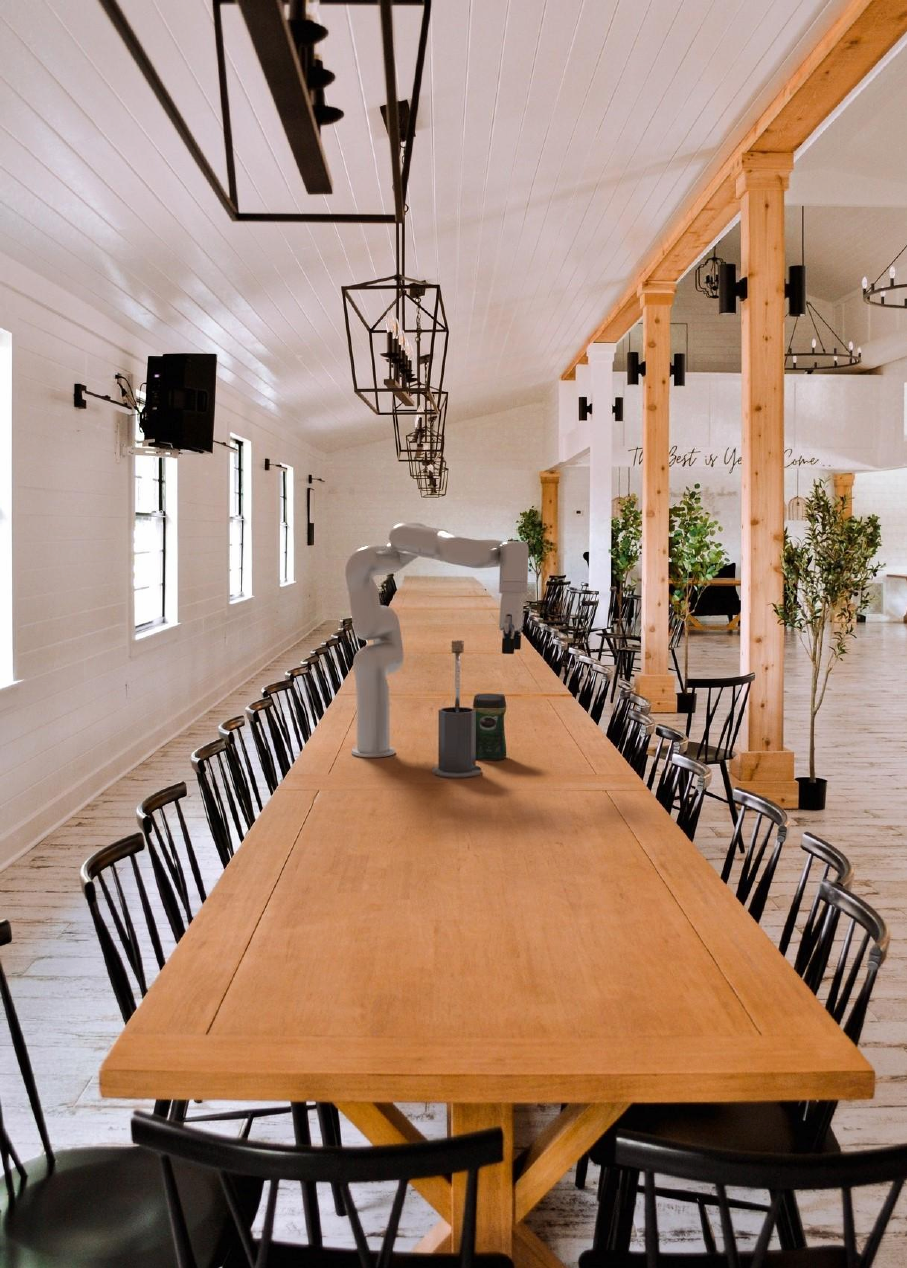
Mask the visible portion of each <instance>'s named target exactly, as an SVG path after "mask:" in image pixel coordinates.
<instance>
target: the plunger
mask: <svg viewBox="0 0 907 1268" xmlns="http://www.w3.org/2000/svg"><path fill="white" fill-rule="evenodd" d="M464 644H465V641H464V640H454V639H453V640H451V653H452V654H454V655H455V656H454V657H455V660H454V662H455V663H454V675H455V677H454V707H455V713H460V707H461V706H460V704H461V701H460V699H461V698H460V694H461V693H460V692H461V690H460V688H461V686H460V684H461V682H460V681H461V676H460V675H461V672H460V671H461V668H460V667H461V663H460V662H461V656H460V655H461V654H463V653H464V652H465V651H464V648H465V647H464Z"/></svg>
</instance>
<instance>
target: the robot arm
mask: <svg viewBox="0 0 907 1268" xmlns="http://www.w3.org/2000/svg"><path fill="white" fill-rule="evenodd" d="M388 541H389V543H388V544H384V545H383V544H382V545H380V544H379V545H377V544H375V545H374V544H373V545H367V546H363V547H361V548H358V549H357V550H355V551H354V552H353V553H352V554H351V555H350V556H349V558H348V560H347V562H346V565H345V581H346V586H347V591H348V596H349V607H350V614H351V621H352V628H353V632H354V634H355V635H356V638H358V639H360V640H362V641H372V644H369V645H365V646H363V647H361V648H360V649H359V650H357V652H356V653H355V654H354V657H353V661H352V662H353V663H352V664H353V665H352V667H353V673H354V678H355V691H356V692H355V693H356V697H355V699H356V746H355V747H353V748H352V749H351V754H352V755H353V756H355V757H358V758H359V757H360V758H384V757H389V756H393V755H395V754H396V749H395V747H393V746H390V741H391V739H390V737H391V736H390V735H391V733H390V731H391V728H390V727H391V724H390V723H391V722H390V721H391V720H390V719H391V718H390V717H391V716H390V711H391V710H390V709H391V708H390V707H391V706H390V705H391V704H390V703H391V702H390V701H391V700H390V687H389V686H390V685H389V683H388V680H387V675H391V674H394V673H397V671H399V670H400V669H401V668H402V666H403V663H404V656H405V655H404V648H403V640H402V639H403V638H402V633H401V624H400V619H399V617H398V615H397V614H396V612H395V610H394V609H392V607H389V606H387V605H382V604H381V601H380V600H381V599H380V594H379V589H378V585H377V584H376V582H375V580H374V577H375V576H383V575H392V574H395V573H398V572H399V571H401V570H402V569H404V568H405V567H407V566H408V565H409V564H410V563H412V562H413V561H414V560H416V559H417V558H419V557H420V558H426V559H431V560H436V561H438V562H444V563H448V564H451V565H454V566H455V565H456V566H460V567H461V566H462V567H464V568H465V567H466V568H472V569H487V568H489V569H491V568H499V579H498V581H499V582H498V583H499V584H498V585H499V586H498V593H499V594H501V599H500V606H499V622H498V624H499V625H498V629H499V630H500V631H502V637H501V638H502V639H501V653H502V654H504V655H514V654H515V650H517V651H520V650H521V649H522V648H521V647H522V629H521V628H523V622H524V621H523V620H524V595H527V594H528V579H529V578H528V575H529V544H528V543H527V542H526V541H519V540H518V541H511V540H510V541H509V540H508V541H507V540H506V541H502V540H498V539H473V538H467V537H462V536H456V535H452V534H450V533H449V531H448V530H446V529H443V528H437V527H430V526H426V525H425V524H422V523H420V522H402V523H397V524H395V525H394V526H393V527H392V529H391V530H390V532H389V534H388Z"/></svg>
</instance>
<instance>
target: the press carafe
mask: <svg viewBox="0 0 907 1268" xmlns="http://www.w3.org/2000/svg"><path fill="white" fill-rule="evenodd" d="M437 737H438V738H437V739H438V741H437V742H438V747H437V748H438V749H437V750H438V752H437V754H438V763H437V765H435V766H434V767H432V774H433V775H434V776H437V777H438V778H439V777H440V778H445V779H455V778H458V779H469V778H475V777H478V776H480V775H482V768H481V766H478V765H476V764H477V763H476V761H477V759H476V710H475V709H473V707H465V706H460V713H455V706H450V707H449V706H448V707H442V708H440V709H438V736H437Z"/></svg>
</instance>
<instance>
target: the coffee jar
mask: <svg viewBox="0 0 907 1268" xmlns="http://www.w3.org/2000/svg"><path fill="white" fill-rule="evenodd" d="M472 709H475V710H476V760H481V761H499V760H500V761H501V760H503V759H506V757H507V744H506V743H507V742H506V741H507V740H506V733H505V714H506V712H507V702H506V696H505V694H503V693H492V692H491V693H488V692H487V693H486V692H485V693H484V692H483V693H476V694H475V695H474V697H473V702H472Z"/></svg>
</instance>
